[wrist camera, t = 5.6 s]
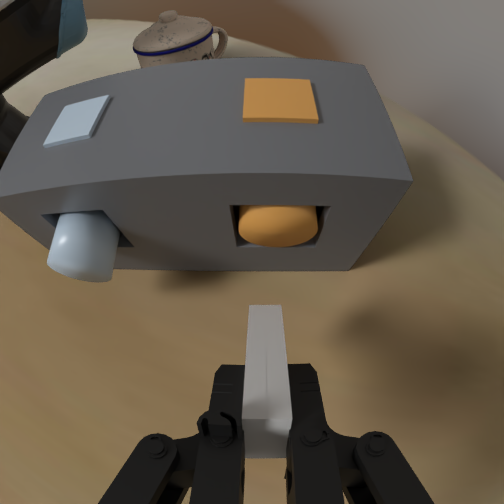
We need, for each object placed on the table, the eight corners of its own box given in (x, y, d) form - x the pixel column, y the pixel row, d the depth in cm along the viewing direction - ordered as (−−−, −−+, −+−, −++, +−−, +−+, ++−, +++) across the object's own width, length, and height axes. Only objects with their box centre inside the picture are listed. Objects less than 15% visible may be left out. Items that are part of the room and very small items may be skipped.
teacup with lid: (175, 123, 30) (151, 35, 19) (138, 97, 33) (113, 25, 22) (252, 78, 33) (249, -1, 22) (208, 58, 36) (198, -9, 25)
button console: (98, 178, 27) (43, 92, 16) (334, 170, 27) (365, 61, 15) (73, 267, 23) (-16, 197, 12) (348, 270, 23) (415, 177, 11)
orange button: (242, 199, 20) (238, 156, 16) (307, 200, 20) (317, 158, 16) (241, 247, 19) (235, 210, 14) (311, 247, 18) (324, 211, 14)
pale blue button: (81, 235, 19) (49, 205, 15) (131, 234, 19) (103, 200, 15) (71, 280, 18) (34, 256, 14) (123, 283, 18) (89, 257, 14)
